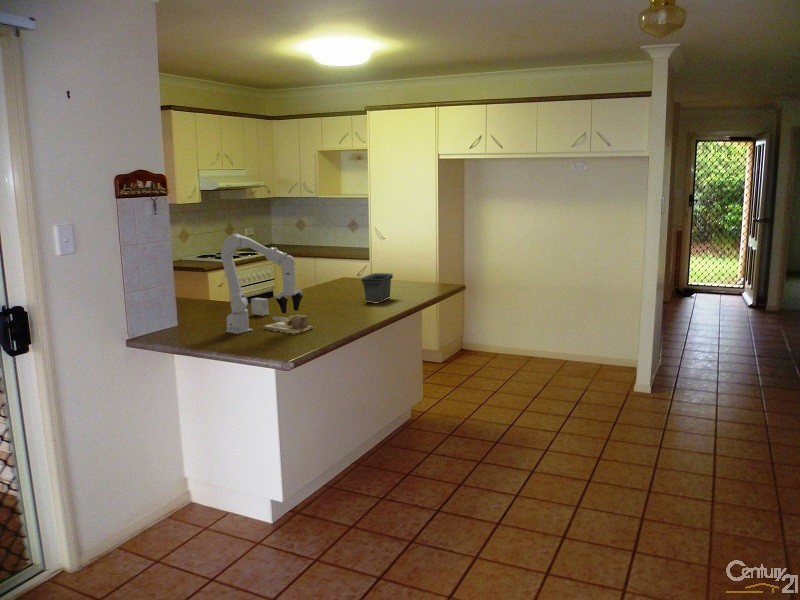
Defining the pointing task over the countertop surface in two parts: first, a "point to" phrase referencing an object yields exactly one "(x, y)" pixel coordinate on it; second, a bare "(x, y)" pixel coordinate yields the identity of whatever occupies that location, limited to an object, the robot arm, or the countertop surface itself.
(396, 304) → the countertop surface
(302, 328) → the beige blocky piece
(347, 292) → the countertop surface
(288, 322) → the wing nut
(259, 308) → the medicine box
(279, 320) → the threaded rod
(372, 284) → the storage bin
